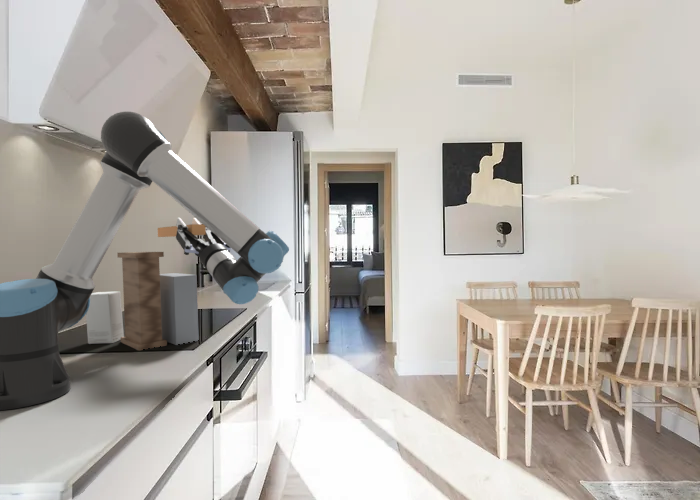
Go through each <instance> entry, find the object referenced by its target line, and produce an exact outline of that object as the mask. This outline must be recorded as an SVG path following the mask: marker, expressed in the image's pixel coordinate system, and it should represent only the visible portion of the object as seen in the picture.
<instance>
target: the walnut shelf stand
mask: <svg viewBox="0 0 700 500" xmlns="http://www.w3.org/2000/svg"><path fill="white" fill-rule="evenodd" d="M164 256H165V254H164V251H125V252H122V251H121V252H117V258H120V259H121V260H122V261H121V263H122V264H121V265H122V287H123V288H122V290H123V291H122V292H123V313H124V314H123V315H124V316H123V317H124V337H121V340H120V343H122V344H124V345H126V346H128V347H130V348H132V349H135V350H136V351H143V349H145V350H149V349H148V348H150V349H155V348H159V347H160V346H161V347H165V346H166V347H167V346H168V342H167V340H165V339H162V324H161V296H160V274H161V273H160V258H163V257H164ZM154 347H155V348H154Z"/></svg>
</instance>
